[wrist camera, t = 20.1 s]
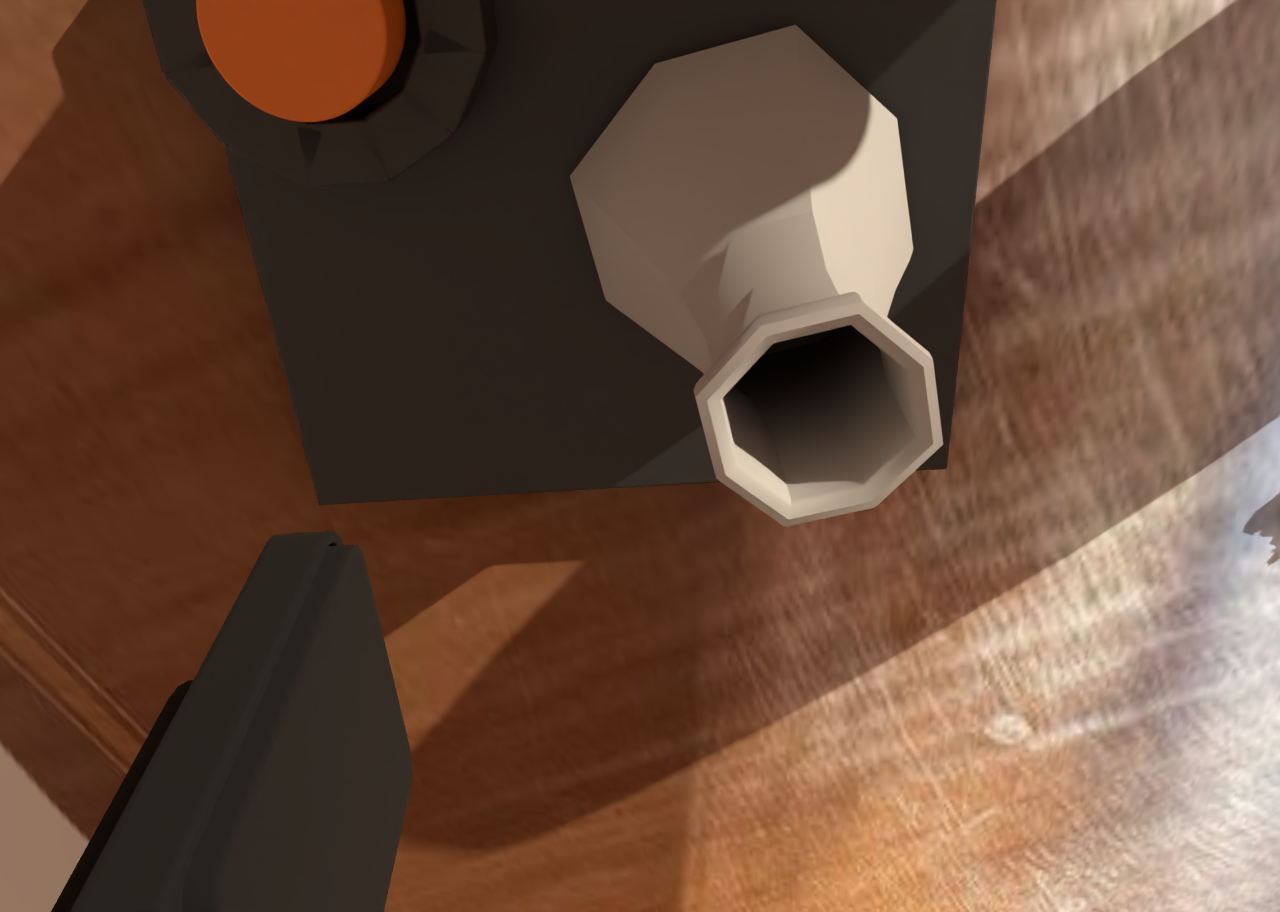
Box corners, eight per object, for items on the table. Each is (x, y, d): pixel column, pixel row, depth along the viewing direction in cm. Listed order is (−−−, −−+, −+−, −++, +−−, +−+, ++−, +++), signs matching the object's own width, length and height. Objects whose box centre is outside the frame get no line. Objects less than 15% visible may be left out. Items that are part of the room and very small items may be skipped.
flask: (963, 256, 22) (1181, 490, 13) (688, 414, 24) (723, 708, 15) (812, -47, 19) (965, 2, 10) (511, 160, 21) (428, 348, 12)
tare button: (256, 109, 19) (224, 128, 18) (210, -78, 18) (170, -75, 16) (420, 98, 19) (401, 116, 18) (389, -91, 17) (366, -89, 16)
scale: (328, 482, 26) (295, 546, 24) (165, -161, 19) (91, -170, 17) (934, 446, 26) (968, 508, 23) (1000, -222, 19) (1060, -241, 16)
